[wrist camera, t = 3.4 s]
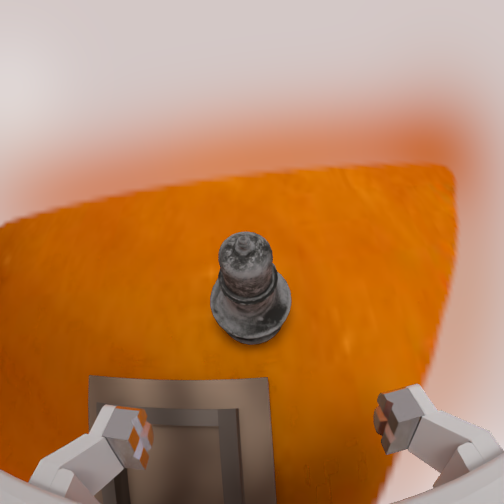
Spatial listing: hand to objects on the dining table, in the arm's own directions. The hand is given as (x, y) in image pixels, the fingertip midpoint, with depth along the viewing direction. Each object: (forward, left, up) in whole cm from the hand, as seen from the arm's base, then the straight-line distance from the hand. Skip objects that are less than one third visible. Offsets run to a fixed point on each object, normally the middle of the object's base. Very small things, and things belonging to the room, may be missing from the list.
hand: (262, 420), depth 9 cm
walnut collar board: (-7, -5, -14) cm, 16 cm away
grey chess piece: (0, +8, -14) cm, 16 cm away
